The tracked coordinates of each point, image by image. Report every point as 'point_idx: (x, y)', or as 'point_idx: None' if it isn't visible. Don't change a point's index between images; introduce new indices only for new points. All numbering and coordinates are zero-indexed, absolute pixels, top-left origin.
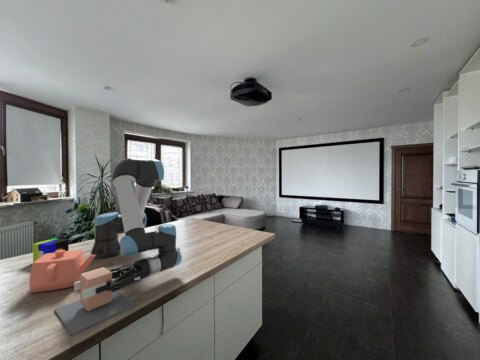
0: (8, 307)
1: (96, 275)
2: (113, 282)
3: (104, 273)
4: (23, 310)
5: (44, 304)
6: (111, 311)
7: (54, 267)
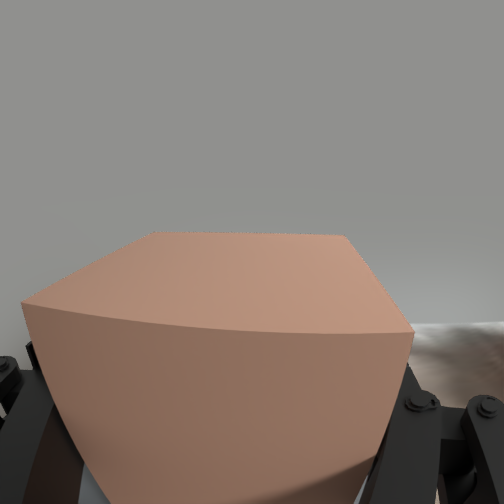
0: (487, 326)
1: (161, 251)
2: (24, 398)
3: (109, 277)
4: (452, 343)
5: (466, 375)
6: (81, 493)
7: None
